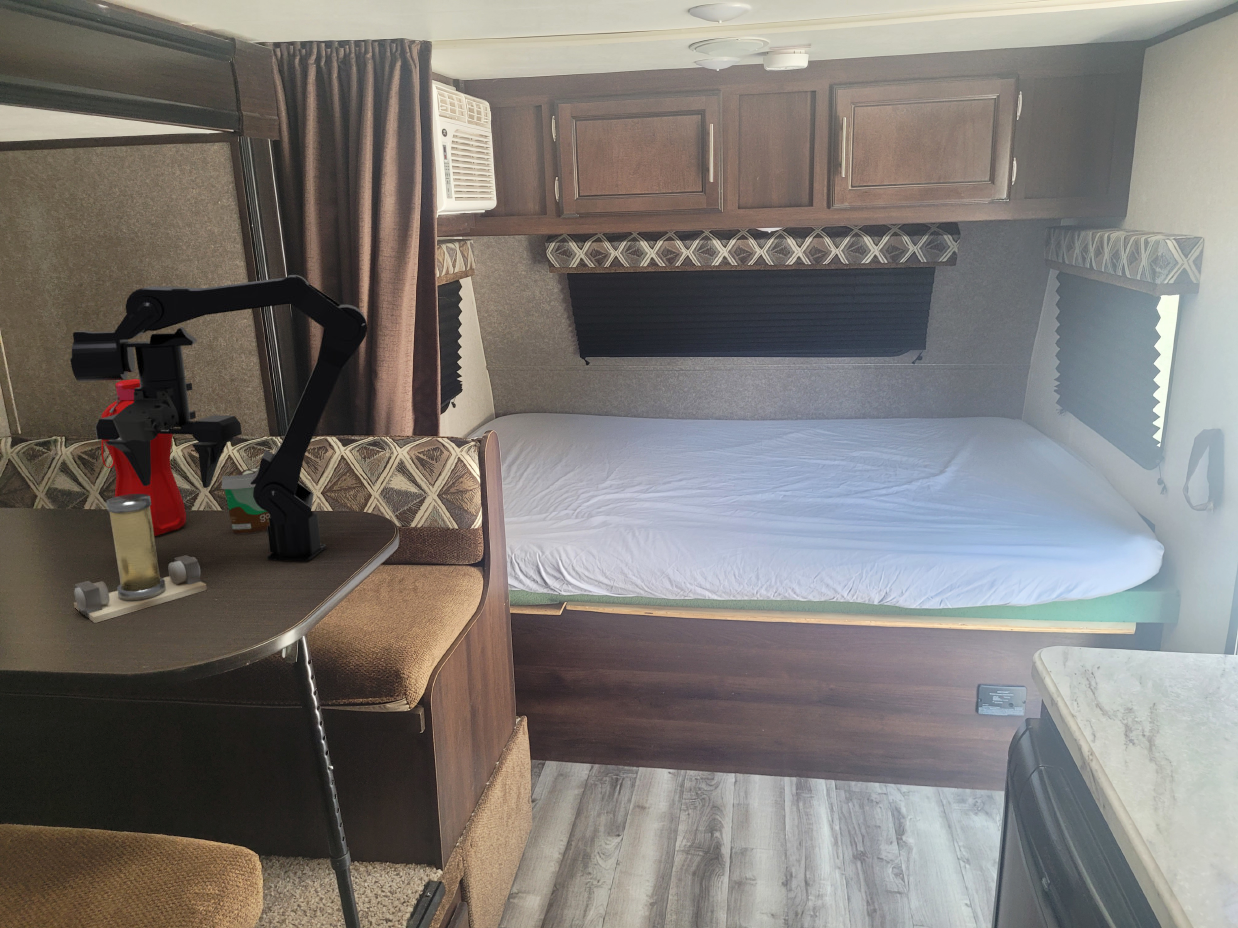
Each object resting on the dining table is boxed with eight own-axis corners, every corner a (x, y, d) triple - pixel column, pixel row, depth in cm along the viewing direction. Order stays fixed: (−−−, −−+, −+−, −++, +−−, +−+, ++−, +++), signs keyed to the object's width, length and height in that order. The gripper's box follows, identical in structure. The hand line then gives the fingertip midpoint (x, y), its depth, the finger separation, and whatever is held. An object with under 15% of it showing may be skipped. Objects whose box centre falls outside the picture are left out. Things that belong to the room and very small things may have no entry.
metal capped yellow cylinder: (175, 588, 118) (162, 496, 115) (137, 604, 113) (122, 508, 110) (146, 582, 120) (133, 491, 117) (108, 596, 115) (93, 502, 112)
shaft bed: (186, 577, 124) (183, 551, 123) (209, 589, 120) (205, 563, 119) (72, 609, 114) (67, 581, 113) (92, 623, 109) (87, 595, 108)
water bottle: (98, 537, 142) (72, 384, 136) (160, 518, 151) (139, 374, 145) (134, 545, 138) (110, 388, 131) (195, 526, 147) (175, 378, 141)
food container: (262, 538, 141) (255, 478, 138) (227, 536, 142) (220, 476, 139) (302, 515, 152) (296, 459, 150) (270, 513, 153) (263, 458, 151)
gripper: (58, 386, 115) (76, 500, 119) (191, 388, 113) (205, 504, 117) (115, 374, 126) (130, 479, 130) (237, 376, 124) (249, 482, 128)
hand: (176, 486), depth 126 cm, fingers open, 9 cm apart
